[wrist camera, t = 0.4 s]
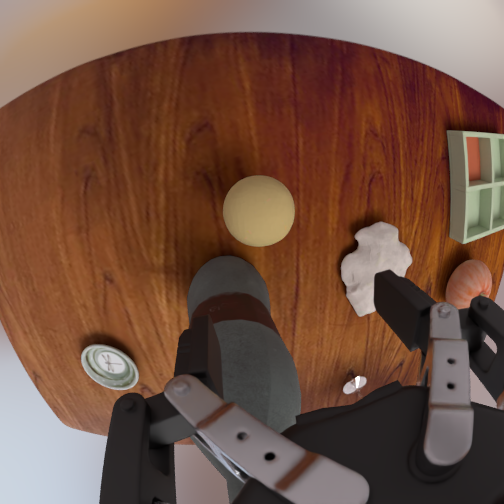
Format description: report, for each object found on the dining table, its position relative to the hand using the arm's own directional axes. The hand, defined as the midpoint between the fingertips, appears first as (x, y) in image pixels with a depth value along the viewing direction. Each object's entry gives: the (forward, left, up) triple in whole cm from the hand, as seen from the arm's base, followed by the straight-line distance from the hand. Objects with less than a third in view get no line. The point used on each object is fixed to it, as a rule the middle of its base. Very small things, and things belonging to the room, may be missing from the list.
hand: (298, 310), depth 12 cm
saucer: (+18, -26, -21) cm, 37 cm away
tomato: (+20, +35, -21) cm, 46 cm away
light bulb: (-1, 0, -21) cm, 21 cm away
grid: (+2, +40, -21) cm, 46 cm away
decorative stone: (+12, +15, -21) cm, 28 cm away
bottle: (+9, -5, -21) cm, 23 cm away
